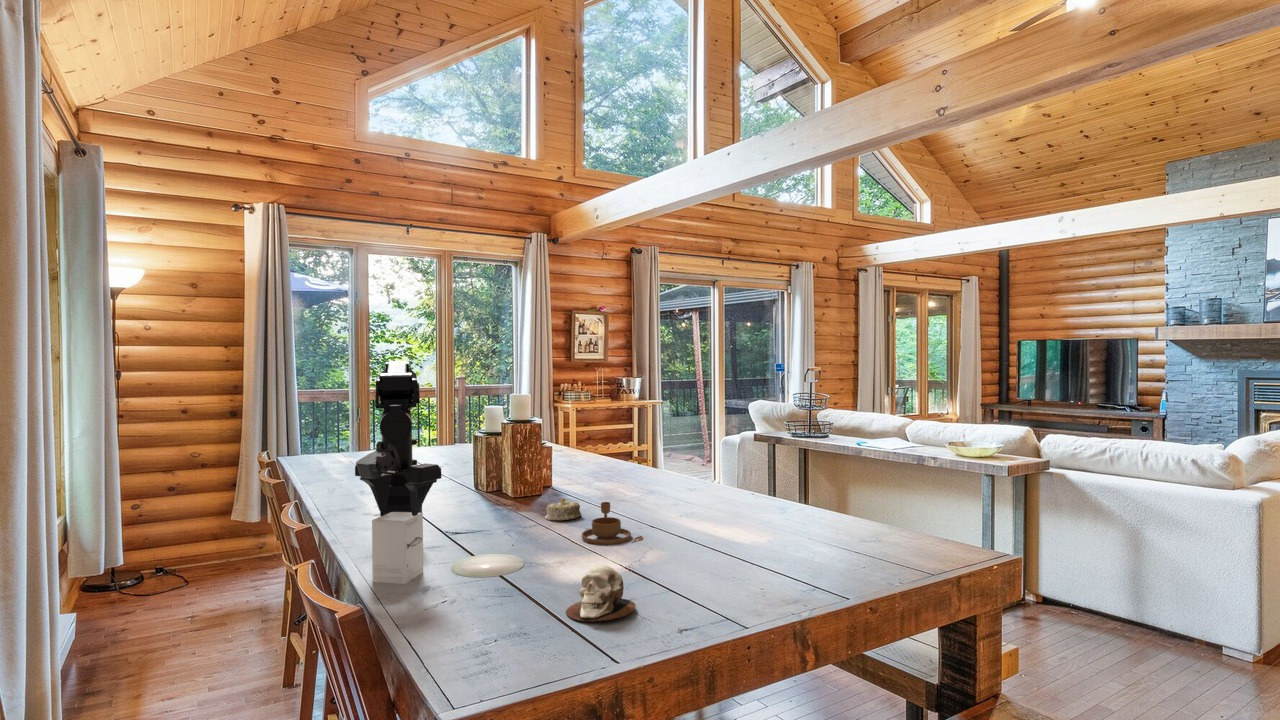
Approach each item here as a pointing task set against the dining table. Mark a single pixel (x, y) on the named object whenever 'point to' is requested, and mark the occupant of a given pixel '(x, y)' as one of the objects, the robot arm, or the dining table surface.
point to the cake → (563, 510)
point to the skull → (601, 596)
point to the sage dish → (487, 565)
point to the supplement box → (397, 547)
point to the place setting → (607, 529)
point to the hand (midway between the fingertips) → (398, 513)
